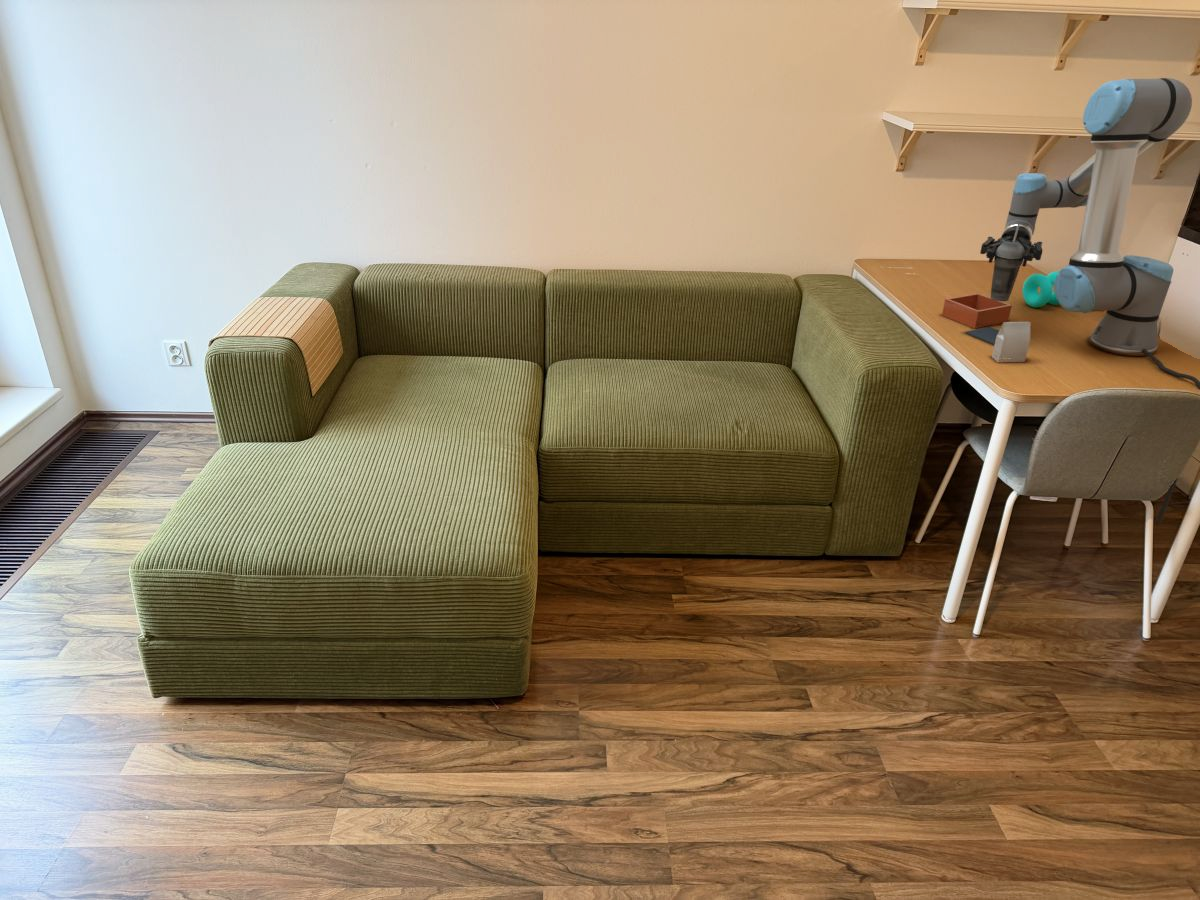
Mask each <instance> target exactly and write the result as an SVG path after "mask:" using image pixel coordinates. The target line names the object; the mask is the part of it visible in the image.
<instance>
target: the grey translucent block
mask: <svg viewBox="0 0 1200 900" xmlns="http://www.w3.org/2000/svg"><path fill="white" fill-rule="evenodd" d="M1031 325H1032V322H1031V321H1008V322H1003V323H1001V327H1000V329H999V332H998V334H997V337H996V341H995V345H993V350H992V354H991V358H992V359H993V360H994V361H996V362H997V363H1025V362H1026V358H1027V354H1028V350H1029V346H1030V342H1031ZM995 355H996V356H997V357H996V356H995ZM999 358H1001V359H999ZM1003 358H1007V359H1003ZM1008 358H1011V359H1008Z"/></svg>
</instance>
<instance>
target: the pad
mask: <svg viewBox="0 0 1200 900" xmlns="http://www.w3.org/2000/svg"><path fill="white" fill-rule="evenodd" d="M999 331H1000V329H996V328H994V327H991V326H986V327H981V328H976V329H971V330H967V331H965V334H966V335H969V336H971V337H973V338H975V339H978V340H980V341H982V342H985V343H988V344H990V345H993V346H994V345H995V341H996V337H997V334H998V332H999Z"/></svg>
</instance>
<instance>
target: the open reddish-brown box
mask: <svg viewBox="0 0 1200 900" xmlns="http://www.w3.org/2000/svg"><path fill="white" fill-rule="evenodd" d="M990 297H991V296H987V295H985V294H982V293H979V292H976V293H970V294H964V295H959V296H954V297H949V298H945V299H944V302H943V307H942V311H941V312H942V313H941V316H942V317H945V318H948V319H951V320H952V321H956V322H958V323H960V324H962V325H965V326H967V327H970V328H972V329H981V328H986V327H991V326H995V325H1000V324H1003V322H1009V320H1010V316H1011V312H1012V307H1013V305H1012V304H1010V303H1007V302H1005V301H995V300H992V299H991V298H990Z"/></svg>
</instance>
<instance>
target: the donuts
mask: <svg viewBox="0 0 1200 900" xmlns="http://www.w3.org/2000/svg"><path fill="white" fill-rule="evenodd" d="M1059 271H1060V270H1056V271H1051V272H1049V273H1048V274H1047V275H1046V274H1043V273H1033V274H1031V275H1029V276H1028V277H1027V278H1026V279H1025V280H1024V282H1023V285H1022V289H1021V290H1022V291H1021V293H1022V298H1023V300H1024V302H1025V303H1026V304H1027V305H1028V306H1029V307H1032V308H1041V307H1044V306H1046V304H1049V305H1052V306H1058V305H1059V306H1060V304H1059V301H1058V300H1057V298H1056V295H1055V290H1054V286H1055V279H1056V276H1057V274H1058V273H1059ZM1039 288H1040V291H1039Z"/></svg>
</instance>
